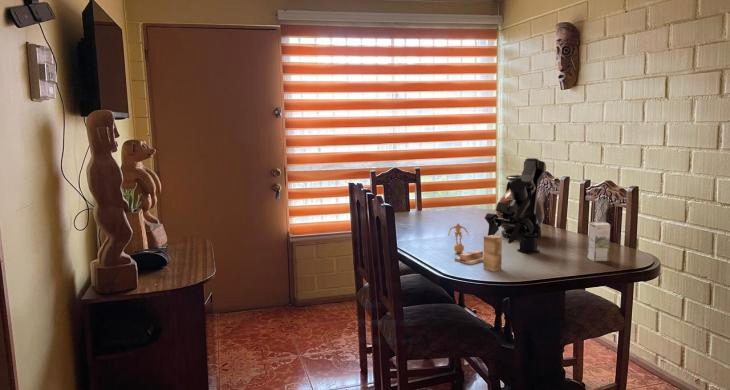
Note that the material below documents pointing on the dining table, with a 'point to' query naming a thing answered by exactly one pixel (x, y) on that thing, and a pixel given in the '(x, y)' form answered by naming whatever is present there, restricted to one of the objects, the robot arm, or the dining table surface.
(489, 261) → the oak post
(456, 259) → the fulcrum
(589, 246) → the syrup box
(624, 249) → the dining table surface
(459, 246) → the figurine
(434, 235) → the dining table surface
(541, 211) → the amphora vase
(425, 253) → the dining table surface
